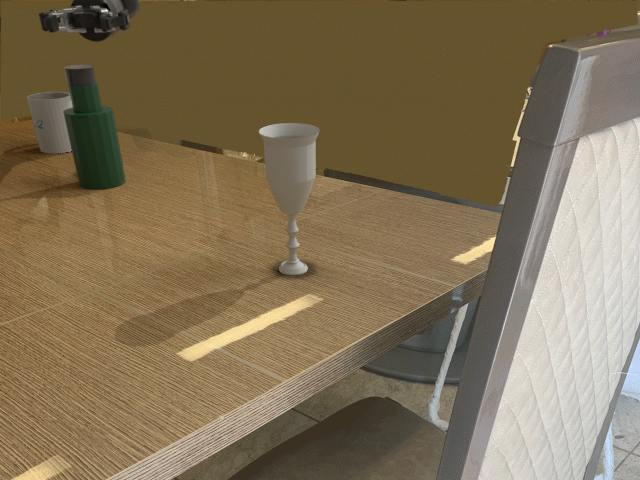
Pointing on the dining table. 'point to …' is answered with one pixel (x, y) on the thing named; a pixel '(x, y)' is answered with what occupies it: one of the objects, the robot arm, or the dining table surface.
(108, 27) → the robot arm
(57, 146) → the mug
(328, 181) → the dining table surface
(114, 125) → the bottle
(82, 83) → the stopper
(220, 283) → the dining table surface
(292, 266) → the chalice
